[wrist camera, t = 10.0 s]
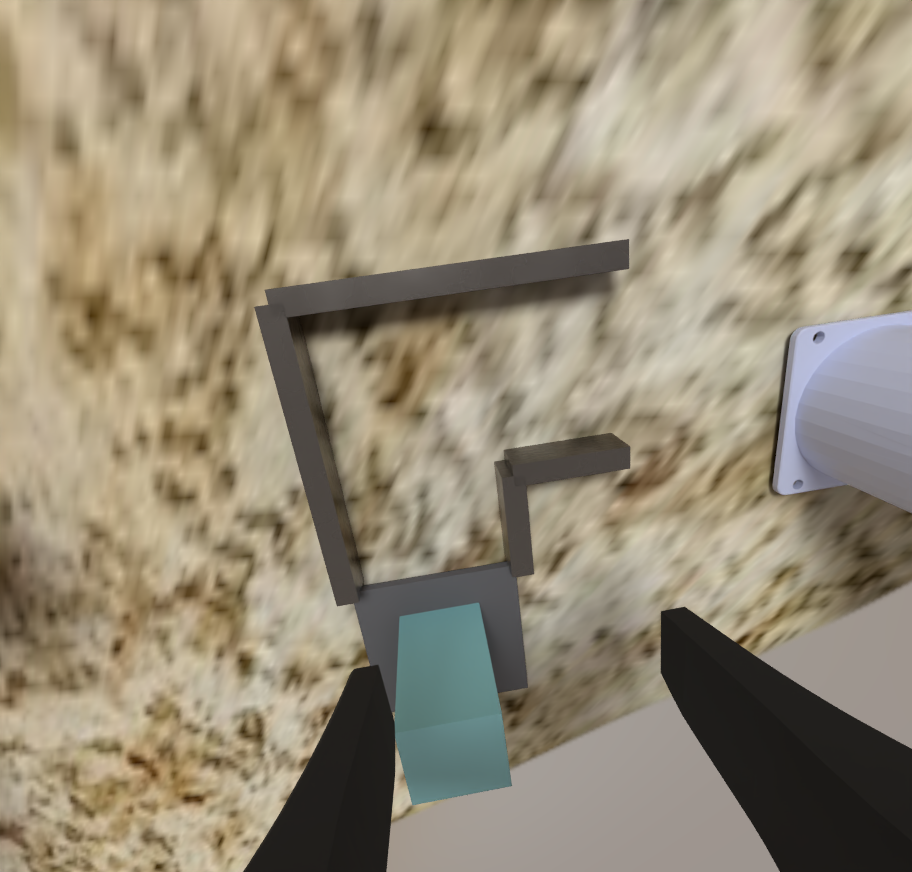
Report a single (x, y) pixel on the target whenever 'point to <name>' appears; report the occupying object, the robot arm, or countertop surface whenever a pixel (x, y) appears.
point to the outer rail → (298, 300)
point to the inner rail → (545, 467)
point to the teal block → (448, 706)
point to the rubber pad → (441, 592)
